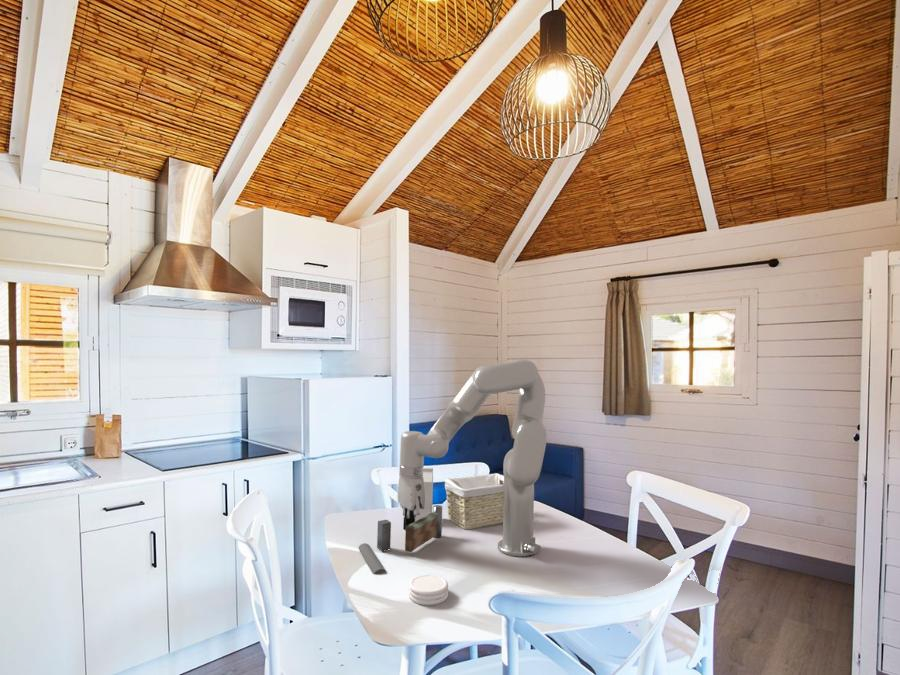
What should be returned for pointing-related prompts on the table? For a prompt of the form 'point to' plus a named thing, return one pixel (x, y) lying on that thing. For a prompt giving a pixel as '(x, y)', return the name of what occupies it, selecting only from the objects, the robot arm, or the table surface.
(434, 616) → the table surface
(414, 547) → the wooden board
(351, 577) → the table surface
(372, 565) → the half round rod
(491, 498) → the storage basket
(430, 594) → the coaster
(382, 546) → the gate posts
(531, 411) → the robot arm
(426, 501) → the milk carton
